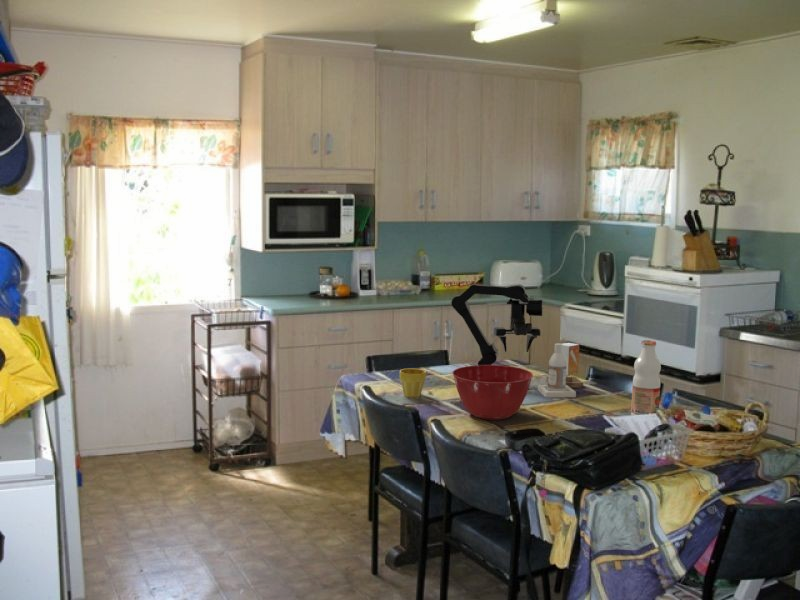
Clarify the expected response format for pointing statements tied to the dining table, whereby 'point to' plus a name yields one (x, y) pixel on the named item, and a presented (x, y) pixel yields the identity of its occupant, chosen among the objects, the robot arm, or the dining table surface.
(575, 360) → the small box
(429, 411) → the dining table surface
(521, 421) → the dining table surface
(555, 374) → the bath foam
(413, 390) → the plant pot
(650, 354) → the fruit juice
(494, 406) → the mixing bowl
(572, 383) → the walnut collar
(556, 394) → the white square tray
